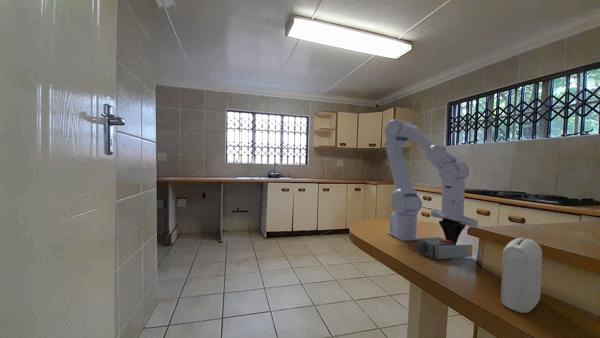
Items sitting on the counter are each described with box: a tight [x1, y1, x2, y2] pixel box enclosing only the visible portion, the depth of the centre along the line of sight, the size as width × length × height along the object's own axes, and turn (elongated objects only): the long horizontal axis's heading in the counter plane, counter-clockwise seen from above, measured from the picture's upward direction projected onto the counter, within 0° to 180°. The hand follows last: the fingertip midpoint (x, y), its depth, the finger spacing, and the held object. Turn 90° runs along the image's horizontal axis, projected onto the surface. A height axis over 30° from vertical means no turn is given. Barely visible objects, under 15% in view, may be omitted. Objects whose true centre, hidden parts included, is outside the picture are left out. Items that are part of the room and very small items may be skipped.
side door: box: [434, 244, 473, 261], centre depth 65 cm, size 1×12×4 cm, turn 103°
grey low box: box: [416, 236, 457, 260], centre depth 68 cm, size 6×9×5 cm, turn 103°
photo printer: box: [500, 237, 543, 314], centre depth 44 cm, size 10×4×12 cm, turn 123°
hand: (451, 244), depth 70 cm, fingers closed
